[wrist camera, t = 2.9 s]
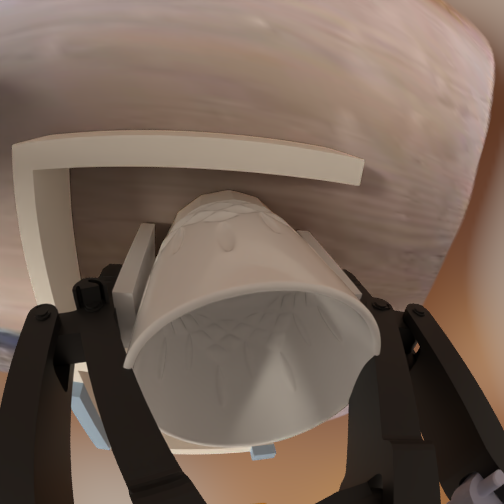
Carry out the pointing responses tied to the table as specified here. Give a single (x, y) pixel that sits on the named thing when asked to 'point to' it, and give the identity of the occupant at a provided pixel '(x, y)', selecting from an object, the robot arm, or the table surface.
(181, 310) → the white cup
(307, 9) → the table surface
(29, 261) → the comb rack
